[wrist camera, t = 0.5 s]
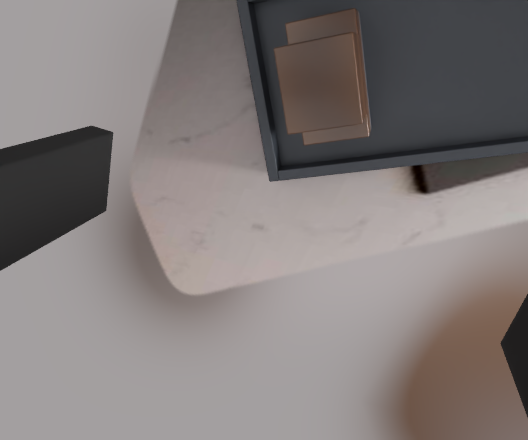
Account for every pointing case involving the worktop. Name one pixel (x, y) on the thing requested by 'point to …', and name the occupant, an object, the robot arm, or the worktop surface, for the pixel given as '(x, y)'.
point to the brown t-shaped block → (324, 78)
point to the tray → (404, 83)
